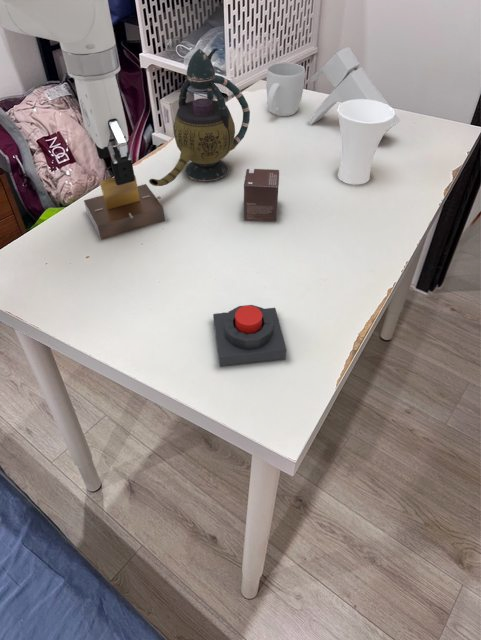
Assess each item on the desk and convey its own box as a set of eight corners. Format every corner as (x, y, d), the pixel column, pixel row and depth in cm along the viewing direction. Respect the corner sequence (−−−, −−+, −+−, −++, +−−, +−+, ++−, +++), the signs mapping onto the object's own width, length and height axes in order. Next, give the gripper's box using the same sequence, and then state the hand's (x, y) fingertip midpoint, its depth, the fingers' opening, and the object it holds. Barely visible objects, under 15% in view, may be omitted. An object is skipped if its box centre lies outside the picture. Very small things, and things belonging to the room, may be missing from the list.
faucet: (388, 129, 100) (335, 48, 97) (338, 168, 113) (290, 98, 111) (401, 119, 103) (350, 41, 101) (351, 158, 117) (305, 90, 114)
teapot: (254, 161, 100) (256, 40, 83) (181, 217, 86) (166, 85, 69) (208, 147, 105) (202, 29, 88) (132, 198, 91) (107, 69, 74)
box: (276, 223, 85) (278, 187, 79) (243, 221, 85) (243, 185, 80) (277, 204, 89) (279, 169, 83) (246, 202, 89) (246, 167, 84)
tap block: (102, 242, 81) (98, 227, 79) (86, 212, 87) (82, 197, 85) (166, 223, 85) (164, 208, 83) (147, 196, 91) (144, 181, 89)
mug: (275, 101, 122) (277, 59, 114) (306, 108, 119) (311, 66, 111) (252, 120, 114) (253, 76, 107) (285, 127, 111) (288, 83, 104)
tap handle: (107, 209, 82) (101, 183, 79) (105, 205, 83) (99, 179, 80) (140, 201, 84) (135, 174, 81) (137, 197, 85) (132, 171, 81)
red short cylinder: (237, 335, 61) (237, 326, 60) (233, 315, 64) (233, 306, 62) (263, 332, 62) (264, 323, 60) (259, 313, 64) (259, 304, 63)
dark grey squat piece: (219, 367, 62) (218, 348, 59) (213, 324, 68) (212, 304, 65) (285, 360, 63) (287, 340, 60) (274, 317, 68) (275, 298, 66)
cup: (389, 176, 96) (406, 110, 86) (359, 196, 91) (373, 128, 81) (347, 159, 101) (359, 94, 91) (317, 176, 96) (325, 110, 86)
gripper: (52, 46, 71) (81, 152, 83) (81, 85, 60) (110, 200, 73) (100, 38, 73) (121, 142, 86) (136, 74, 63) (155, 187, 75)
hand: (116, 169), depth 79 cm, fingers open, 9 cm apart
